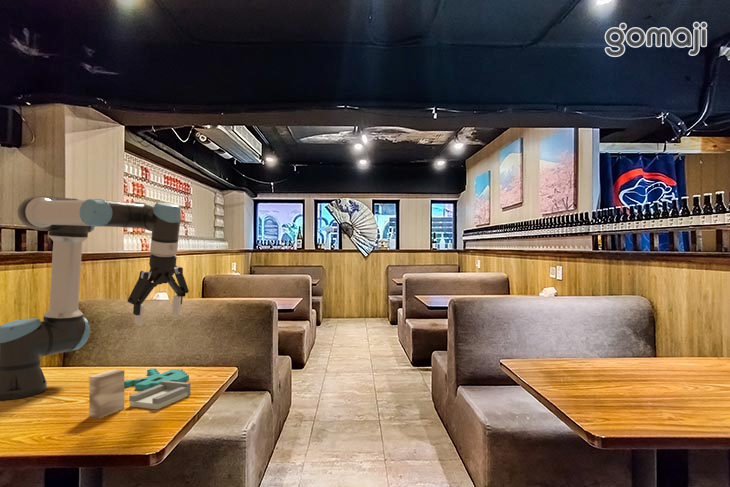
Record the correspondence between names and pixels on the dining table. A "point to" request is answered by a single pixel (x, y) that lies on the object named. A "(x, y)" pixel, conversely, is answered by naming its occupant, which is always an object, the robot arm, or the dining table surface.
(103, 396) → the beige rectangular block
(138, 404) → the groove board
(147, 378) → the alien figure
